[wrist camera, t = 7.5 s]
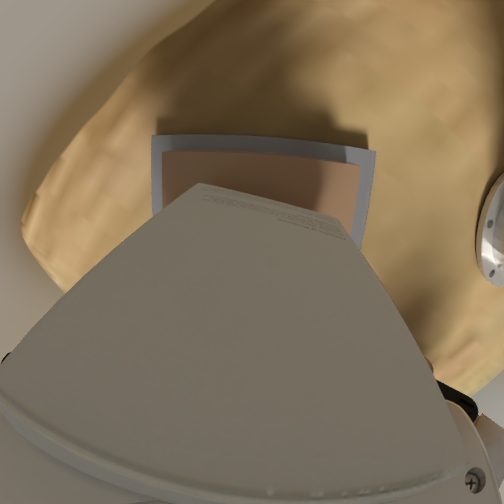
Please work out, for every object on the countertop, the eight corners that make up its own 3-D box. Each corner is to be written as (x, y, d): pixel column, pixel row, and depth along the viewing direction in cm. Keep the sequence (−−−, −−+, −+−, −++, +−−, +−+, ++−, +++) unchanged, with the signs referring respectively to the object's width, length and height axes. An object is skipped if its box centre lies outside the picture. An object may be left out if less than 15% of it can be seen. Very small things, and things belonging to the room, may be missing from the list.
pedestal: (368, 150, 18) (394, 154, 13) (340, 306, 23) (351, 340, 19) (159, 135, 18) (131, 136, 14) (166, 291, 23) (147, 322, 19)
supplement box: (196, 177, 13) (-38, 370, 2) (340, 216, 13) (488, 464, 2) (175, 300, 16) (84, 501, 5) (295, 330, 16) (307, 545, 5)
